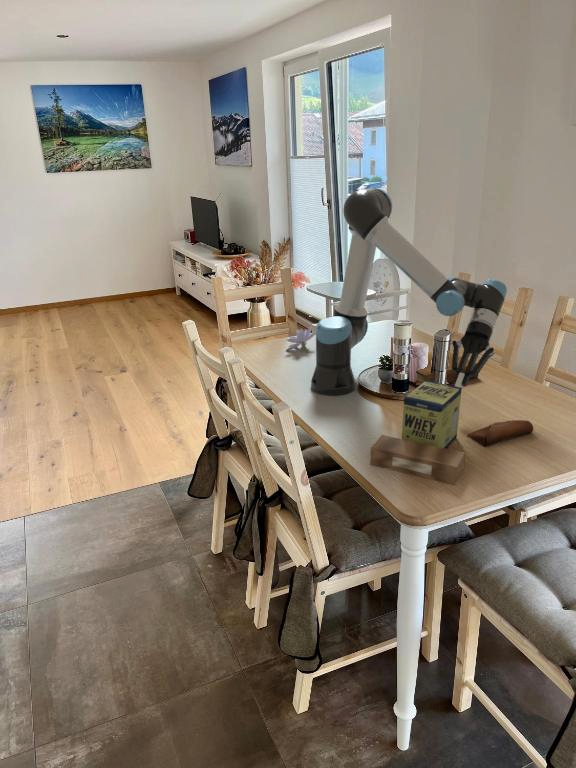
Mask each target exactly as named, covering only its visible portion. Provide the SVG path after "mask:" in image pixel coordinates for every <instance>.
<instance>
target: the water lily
mask: <svg viewBox="0 0 576 768" xmlns="http://www.w3.org/2000/svg"><path fill="white" fill-rule="evenodd" d="M313 328H314V327H313V324H312V325H311V326H310V327H308V328H305V329H303V328H301V329H296V330H295V335H294V336H293V335H290V336H289V338H287V339H286V341H287V342H289V343H292V344H289V345H288V348H286V350H285V352H287V351H291V350H294V349H296V348H297V347H300V346H301V347H304V349H305V352H306V353H307V354H308V353H309V350H308V349H307V347H306V345H307V341H310V340H311V339H312V338H314V337H315V336H316V331H313V332H312V329H313Z"/></svg>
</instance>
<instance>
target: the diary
mask: <svg viewBox="0 0 576 768" xmlns="http://www.w3.org/2000/svg"><path fill="white" fill-rule="evenodd" d="M432 352H433V351H430V352H427V353H428V365H427V367H425V368H424V369H420V370H417V371H416V373H417V374H418V375H417V380H418V382H419V383H421V384H422V383H423V382H425V381H426V380H427V381H432V382H434V376H433V373H431V360H432ZM449 352H450V351H449ZM461 357H462V355H461V356H460V355H458V365H459V363H460V360H461ZM452 358H453V352H450V357H449V366H448V370H447V378H446V379H447V382H448V383H449V384H448V385H451V384H454V382H453V380H454V377H455V375H456V373H454V372H453V370H452ZM469 360H470V359H468V360H467V362H466V365H465V368H464V370H463V373H464V374H465V371H466V368H467V366H468V363H469ZM477 363H478V362H475V365H474V367H475V366H476V364H477ZM458 365H457V368H458ZM473 369H474V368H473ZM478 377H479V374H478V375H477V376H476V377H474V376H472V377H470V378H469V380H473V379H477V378H478Z"/></svg>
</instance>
